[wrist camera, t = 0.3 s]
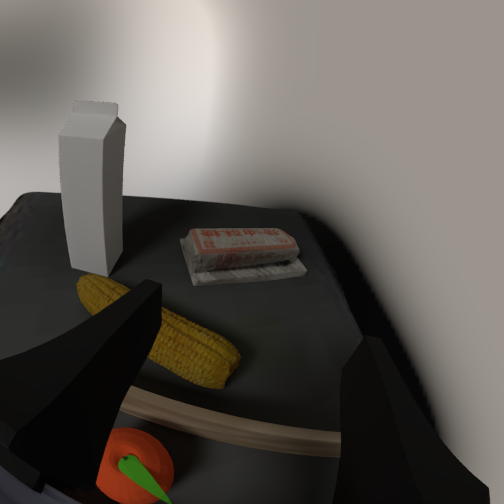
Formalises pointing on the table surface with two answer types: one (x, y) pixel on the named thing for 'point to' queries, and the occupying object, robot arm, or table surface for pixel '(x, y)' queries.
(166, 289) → the table surface
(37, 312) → the table surface
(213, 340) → the food
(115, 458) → the clementine
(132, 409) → the crate
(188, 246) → the packaged product
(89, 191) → the milk
